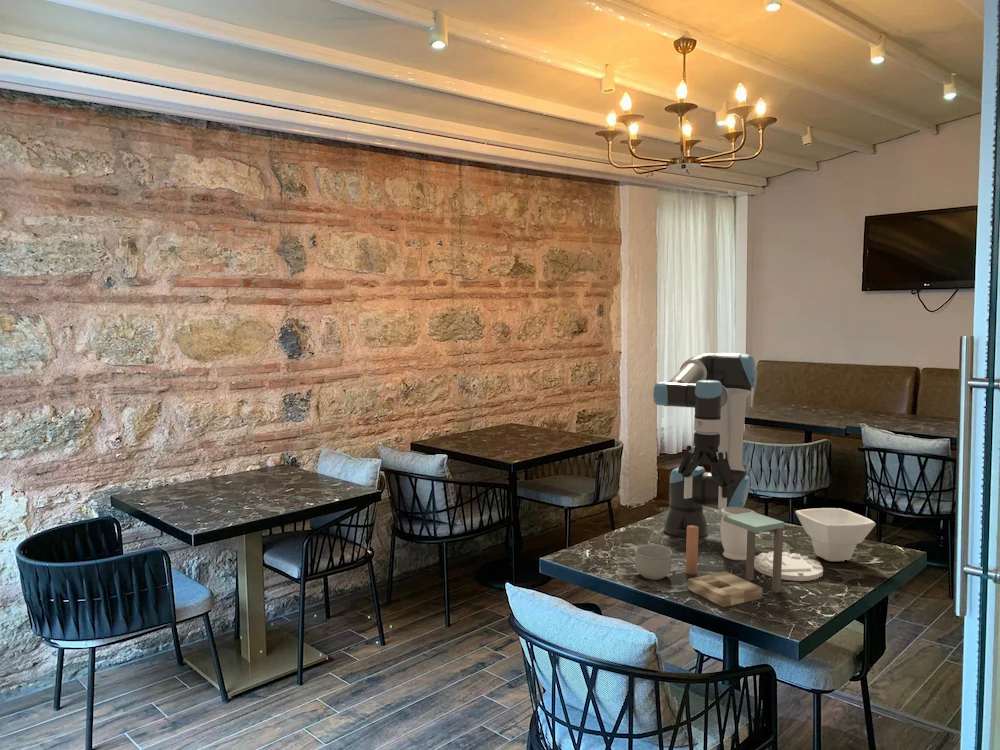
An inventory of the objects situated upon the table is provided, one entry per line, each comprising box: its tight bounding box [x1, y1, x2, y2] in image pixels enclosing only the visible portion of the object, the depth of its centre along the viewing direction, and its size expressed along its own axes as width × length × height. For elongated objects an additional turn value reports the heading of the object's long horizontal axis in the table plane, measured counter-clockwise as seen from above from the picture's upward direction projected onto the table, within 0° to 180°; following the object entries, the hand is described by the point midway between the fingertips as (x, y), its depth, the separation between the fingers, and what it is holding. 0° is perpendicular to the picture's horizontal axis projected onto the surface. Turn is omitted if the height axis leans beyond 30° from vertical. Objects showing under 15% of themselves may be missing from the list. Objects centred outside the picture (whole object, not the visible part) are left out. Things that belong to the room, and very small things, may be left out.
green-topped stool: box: [723, 511, 785, 594], centre depth 209 cm, size 12×11×20 cm
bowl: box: [795, 507, 876, 562], centre depth 234 cm, size 19×19×14 cm
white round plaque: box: [754, 550, 824, 582], centre depth 224 cm, size 20×20×3 cm
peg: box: [685, 525, 699, 575], centre depth 221 cm, size 3×3×14 cm
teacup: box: [625, 543, 673, 581], centre depth 219 cm, size 14×11×8 cm
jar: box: [719, 507, 756, 561], centre depth 236 cm, size 11×10×15 cm
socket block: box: [687, 570, 763, 608], centre depth 205 cm, size 14×14×3 cm
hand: (704, 503), depth 220 cm, fingers open, 13 cm apart
